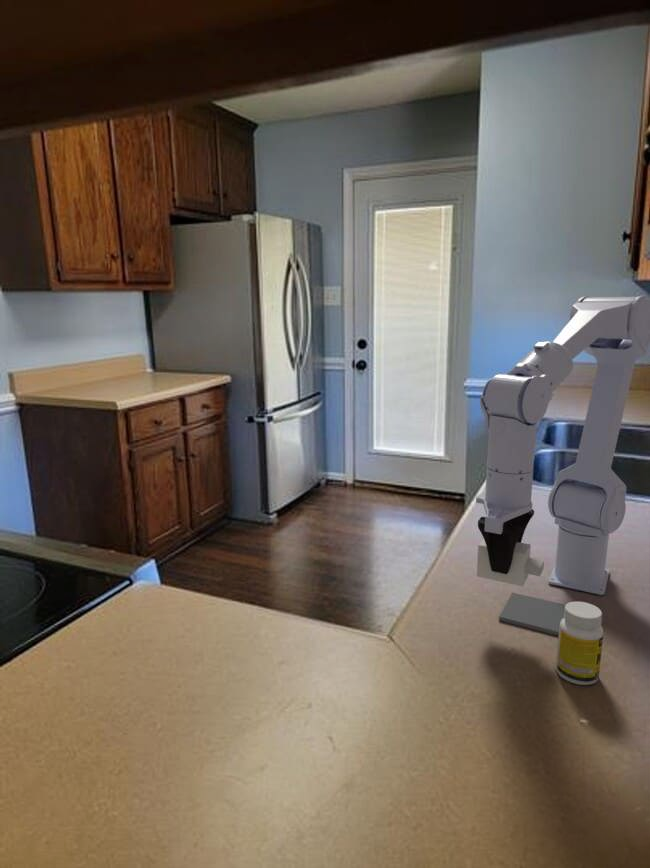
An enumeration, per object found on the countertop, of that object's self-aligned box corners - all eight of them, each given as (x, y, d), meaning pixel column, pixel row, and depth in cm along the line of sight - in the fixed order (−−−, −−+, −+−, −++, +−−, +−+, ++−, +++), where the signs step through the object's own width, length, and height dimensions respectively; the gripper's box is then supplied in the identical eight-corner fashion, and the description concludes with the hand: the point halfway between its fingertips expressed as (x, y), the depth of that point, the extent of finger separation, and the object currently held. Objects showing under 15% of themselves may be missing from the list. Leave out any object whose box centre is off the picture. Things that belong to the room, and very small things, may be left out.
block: (483, 566, 81) (485, 536, 80) (543, 578, 77) (545, 547, 76) (476, 576, 78) (478, 544, 77) (538, 590, 74) (540, 557, 73)
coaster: (512, 596, 88) (512, 592, 88) (568, 609, 84) (569, 605, 84) (498, 620, 81) (499, 616, 81) (560, 636, 77) (560, 632, 77)
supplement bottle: (603, 689, 67) (610, 622, 65) (559, 683, 68) (565, 618, 66) (593, 664, 71) (599, 601, 69) (552, 659, 72) (557, 597, 70)
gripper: (493, 451, 83) (488, 540, 86) (462, 478, 71) (457, 580, 74) (545, 457, 80) (537, 550, 83) (521, 486, 67) (514, 594, 70)
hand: (503, 565), depth 78 cm, fingers closed on block, 3 cm apart
